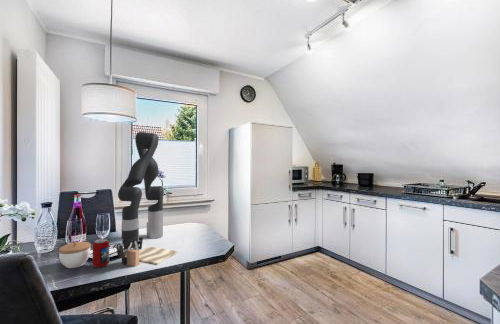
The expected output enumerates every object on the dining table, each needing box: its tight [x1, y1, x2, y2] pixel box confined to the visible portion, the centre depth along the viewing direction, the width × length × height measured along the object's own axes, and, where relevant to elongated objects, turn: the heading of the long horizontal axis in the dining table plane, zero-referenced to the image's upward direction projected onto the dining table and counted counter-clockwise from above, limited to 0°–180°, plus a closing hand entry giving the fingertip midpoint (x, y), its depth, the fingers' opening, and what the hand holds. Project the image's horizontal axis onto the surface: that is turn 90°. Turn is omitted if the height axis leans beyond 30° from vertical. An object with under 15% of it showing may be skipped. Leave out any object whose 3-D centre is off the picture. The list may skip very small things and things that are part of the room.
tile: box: [120, 248, 140, 267], centre depth 118 cm, size 9×2×7 cm, turn 70°
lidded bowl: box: [58, 241, 92, 269], centre depth 117 cm, size 13×13×11 cm
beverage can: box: [92, 238, 110, 268], centre depth 116 cm, size 7×7×12 cm
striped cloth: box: [139, 246, 179, 266], centre depth 128 cm, size 20×16×1 cm
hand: (130, 261), depth 118 cm, fingers open, 6 cm apart
